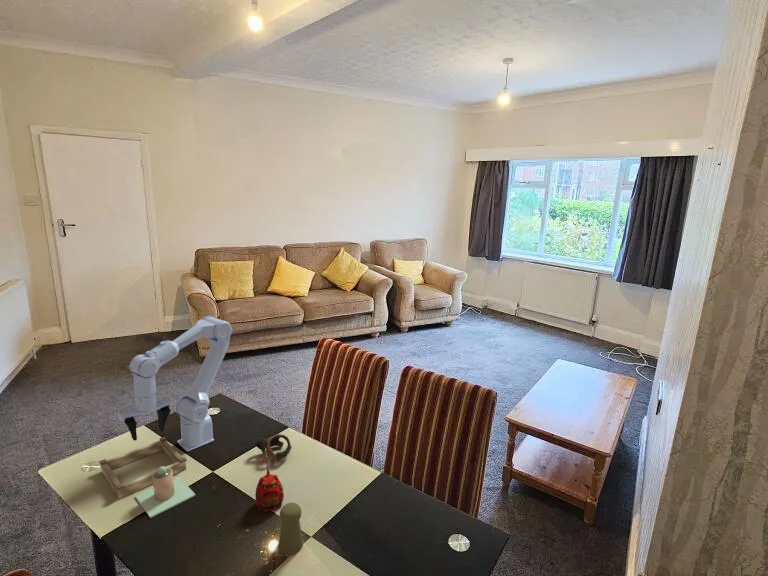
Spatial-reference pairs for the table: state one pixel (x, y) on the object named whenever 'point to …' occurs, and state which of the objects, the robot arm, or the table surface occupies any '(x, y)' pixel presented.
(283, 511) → the olive peg figure
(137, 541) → the table surface
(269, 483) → the red clay folk toy
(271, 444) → the dark looped piece
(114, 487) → the wooden crate tray
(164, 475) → the seedling pot
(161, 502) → the mat
